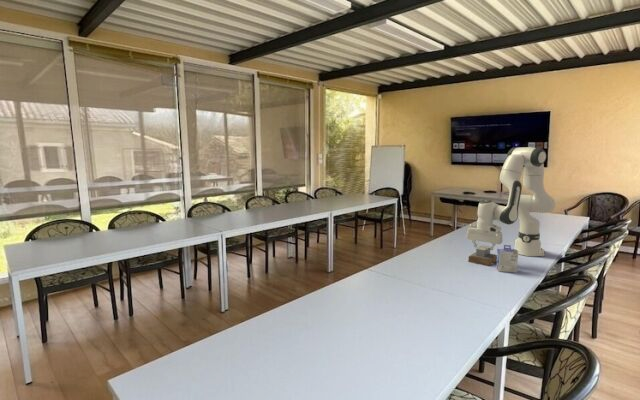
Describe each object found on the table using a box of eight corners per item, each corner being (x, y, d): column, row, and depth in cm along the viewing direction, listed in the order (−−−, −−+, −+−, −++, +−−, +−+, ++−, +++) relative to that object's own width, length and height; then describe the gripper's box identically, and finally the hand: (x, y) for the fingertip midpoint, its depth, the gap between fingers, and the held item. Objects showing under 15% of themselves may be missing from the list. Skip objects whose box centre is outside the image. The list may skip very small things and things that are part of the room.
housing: (475, 255, 214) (476, 247, 213) (481, 252, 220) (482, 244, 219) (484, 257, 210) (484, 249, 209) (490, 254, 216) (490, 246, 216)
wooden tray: (476, 256, 225) (477, 250, 224) (496, 260, 216) (497, 254, 216) (468, 261, 215) (468, 255, 214) (488, 266, 206) (489, 259, 206)
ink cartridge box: (514, 269, 200) (516, 245, 198) (517, 272, 195) (519, 247, 193) (495, 268, 202) (497, 244, 200) (498, 271, 197) (500, 246, 195)
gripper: (465, 225, 217) (464, 246, 219) (500, 229, 203) (499, 252, 205) (469, 223, 222) (468, 244, 224) (504, 228, 208) (502, 250, 210)
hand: (483, 248), depth 214 cm, fingers open, 8 cm apart
